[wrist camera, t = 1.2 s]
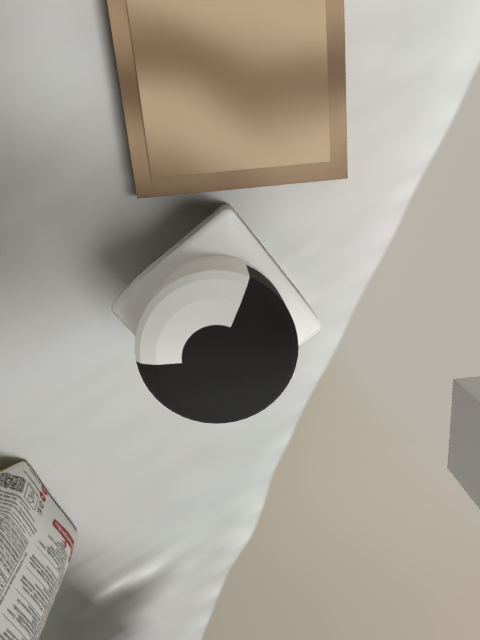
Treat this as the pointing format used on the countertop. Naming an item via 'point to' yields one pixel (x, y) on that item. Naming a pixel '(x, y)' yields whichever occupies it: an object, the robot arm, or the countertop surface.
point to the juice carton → (29, 553)
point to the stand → (231, 92)
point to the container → (216, 323)
